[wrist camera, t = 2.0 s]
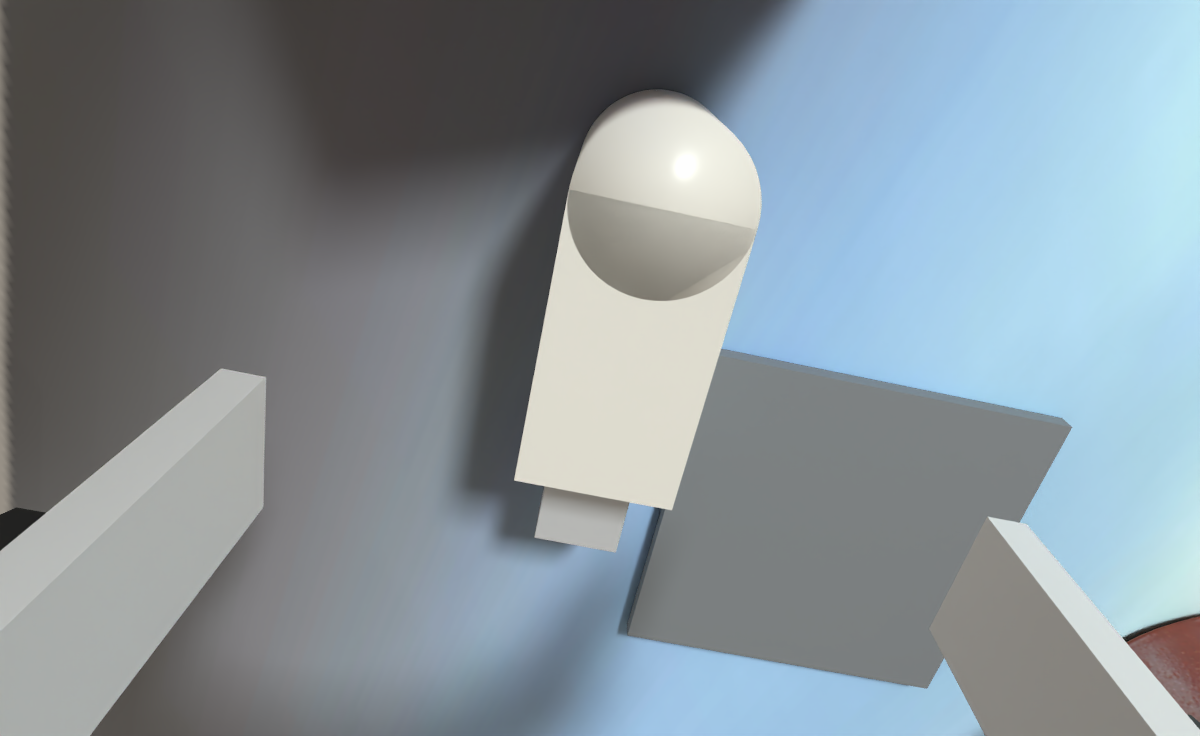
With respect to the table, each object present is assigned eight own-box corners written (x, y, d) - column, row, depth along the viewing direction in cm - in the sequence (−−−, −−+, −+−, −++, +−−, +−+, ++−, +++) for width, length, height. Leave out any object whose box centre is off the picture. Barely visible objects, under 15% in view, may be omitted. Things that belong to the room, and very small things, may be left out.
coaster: (709, 346, 23) (711, 353, 23) (1062, 418, 24) (1071, 427, 24) (627, 623, 28) (627, 635, 28) (921, 676, 29) (927, 688, 29)
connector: (595, 73, 20) (588, 87, 16) (750, 108, 20) (787, 131, 16) (518, 475, 26) (497, 571, 21) (641, 498, 26) (645, 597, 21)
